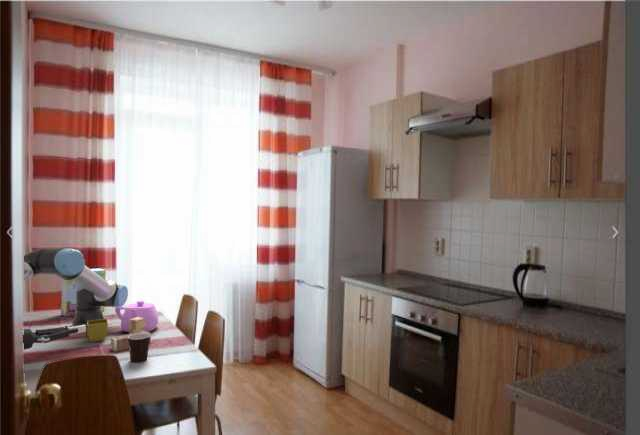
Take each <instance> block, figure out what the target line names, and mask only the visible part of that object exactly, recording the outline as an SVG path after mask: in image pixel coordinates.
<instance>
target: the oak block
mask: <svg viewBox="0 0 640 435" xmlns="http://www.w3.org/2000/svg"><path fill="white" fill-rule="evenodd" d="M143 331H145V318H140V317H136V318H132V319H129V333H128V334H132V333H138V332H143Z"/></svg>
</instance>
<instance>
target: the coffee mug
mask: <svg viewBox="0 0 640 435" xmlns="http://www.w3.org/2000/svg"><path fill="white" fill-rule="evenodd" d="M128 342H129V349H128V350H129V360H130V363H133V364H134V363H135V364H139V363H143V362H146V361H147V360H148V354H149V350H150V349H149V348H150V344H149V342H150V334H146V333H139V334H133V335H130V336H128ZM150 343H151V342H150Z"/></svg>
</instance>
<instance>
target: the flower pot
mask: <svg viewBox="0 0 640 435" xmlns="http://www.w3.org/2000/svg"><path fill="white" fill-rule="evenodd" d="M108 327H109V319H108V318H104V319H99V320H89V321H87V328H86V331H87V336H88V339H89V341H90V342H91V343H96V342H103V341H104V340H105V339H106V337H107V334H108Z"/></svg>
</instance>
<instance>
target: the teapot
mask: <svg viewBox="0 0 640 435" xmlns="http://www.w3.org/2000/svg"><path fill="white" fill-rule="evenodd" d="M122 310H124V312H123V314H122V313H121V311H122ZM114 312H115V314H116V315H117V317H118V319H119V320H120V321H121V322H120V328H121V330H122V332H125V333H128V334H129V319H132V318H136V317H140V318H145V331H147V332H151V331H153V330H155V328H156V327H157V325H158V324H159V314H158V310H157V309H156V306H155V304H154V303H151V302H145V301H144V300H137V301H136V302H135V303H131V304H128V305H127V306H122V307H116V308H115V307H114Z"/></svg>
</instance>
